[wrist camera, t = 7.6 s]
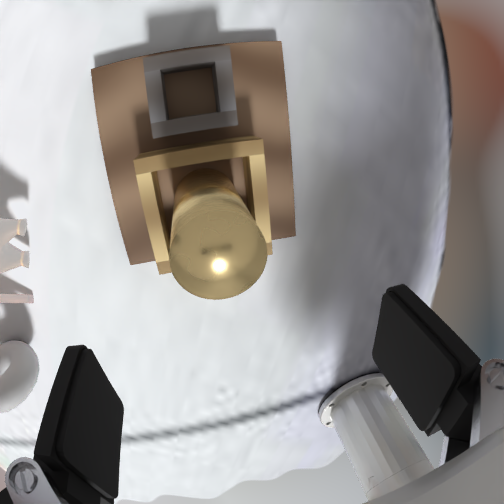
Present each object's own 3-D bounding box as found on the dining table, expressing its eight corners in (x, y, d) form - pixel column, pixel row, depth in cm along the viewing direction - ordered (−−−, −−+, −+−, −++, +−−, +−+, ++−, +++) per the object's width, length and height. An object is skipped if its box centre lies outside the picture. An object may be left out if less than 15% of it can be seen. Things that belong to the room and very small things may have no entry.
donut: (39, 327, 26) (8, 398, 17) (54, 350, 28) (31, 421, 19) (-14, 339, 25) (-45, 398, 16) (0, 359, 27) (-25, 419, 18)
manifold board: (291, 230, 27) (308, 251, 23) (132, 258, 25) (125, 284, 22) (276, 44, 20) (294, 32, 16) (95, 70, 18) (77, 64, 14)
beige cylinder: (238, 220, 24) (270, 289, 16) (180, 230, 24) (180, 306, 15) (231, 163, 22) (263, 203, 14) (170, 173, 22) (159, 221, 13)
